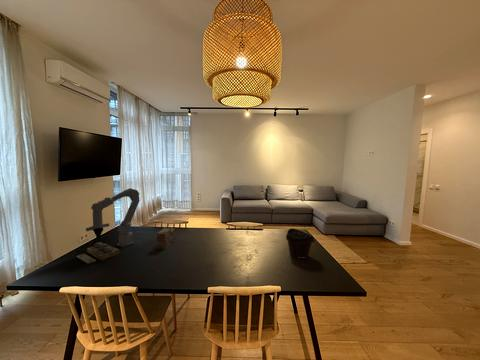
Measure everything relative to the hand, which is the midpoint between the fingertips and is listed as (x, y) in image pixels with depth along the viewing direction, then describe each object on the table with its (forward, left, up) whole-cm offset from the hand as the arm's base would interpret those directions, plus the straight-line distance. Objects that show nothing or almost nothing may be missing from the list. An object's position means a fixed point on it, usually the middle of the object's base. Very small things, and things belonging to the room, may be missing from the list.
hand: (98, 238), depth 153 cm
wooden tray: (0, +6, -9) cm, 11 cm away
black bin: (-79, +122, -10) cm, 146 cm away
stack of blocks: (-37, +28, -10) cm, 48 cm away
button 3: (0, +13, -7) cm, 15 cm away
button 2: (0, +6, -7) cm, 9 cm away
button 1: (0, 0, -7) cm, 7 cm away
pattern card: (+11, +6, -9) cm, 15 cm away
